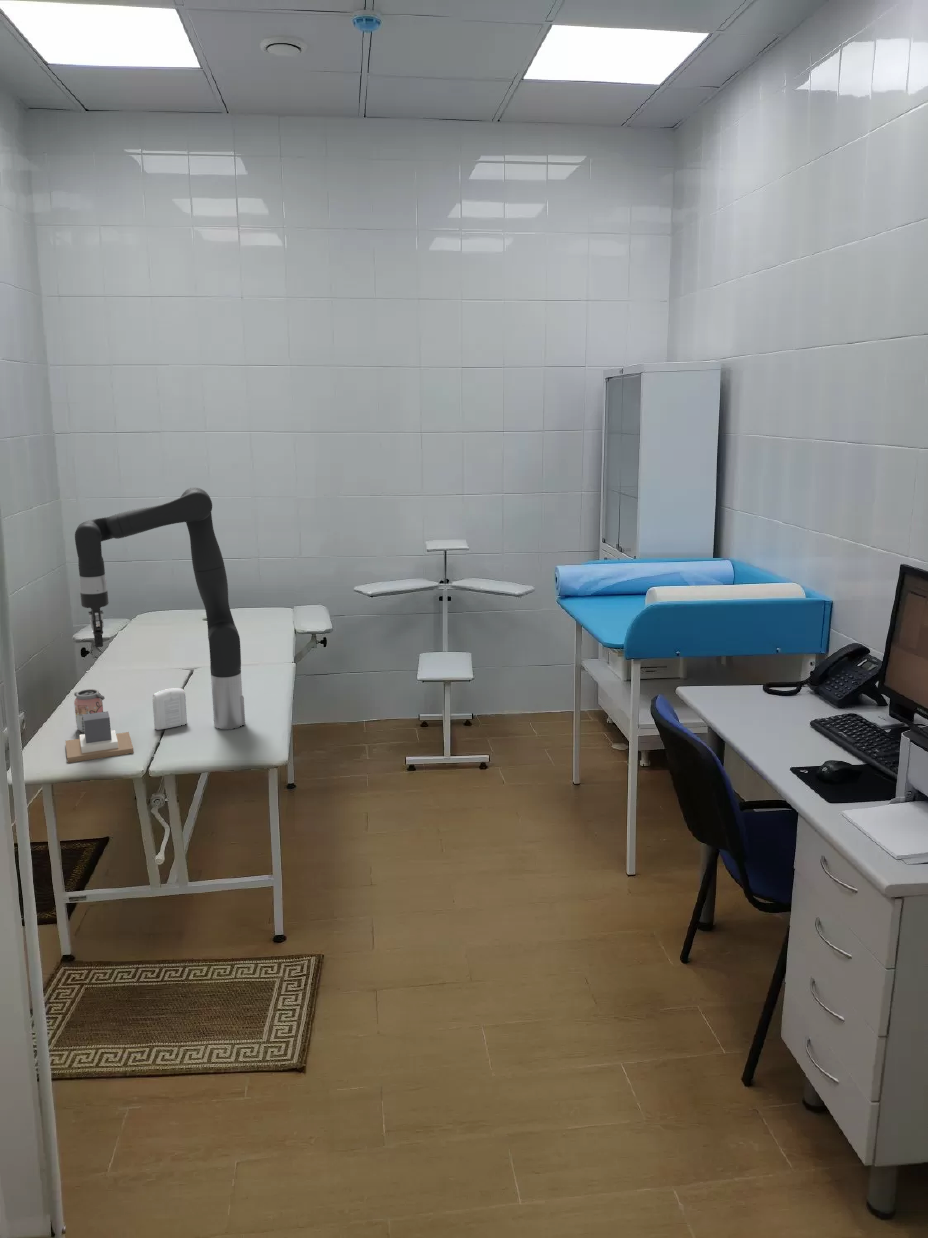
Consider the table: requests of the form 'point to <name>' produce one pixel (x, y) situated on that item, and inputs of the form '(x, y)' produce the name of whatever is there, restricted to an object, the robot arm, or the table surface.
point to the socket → (98, 747)
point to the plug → (97, 727)
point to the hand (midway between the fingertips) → (99, 646)
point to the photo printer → (169, 708)
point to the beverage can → (87, 705)
